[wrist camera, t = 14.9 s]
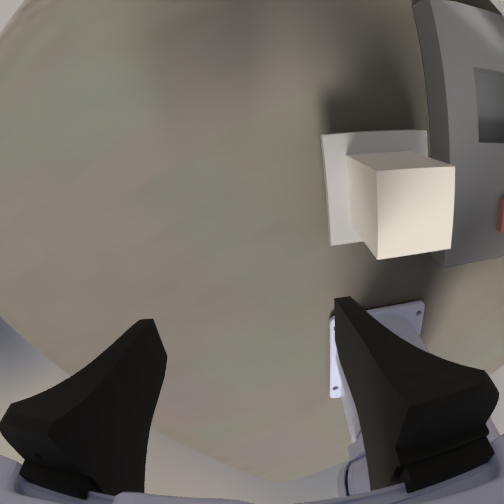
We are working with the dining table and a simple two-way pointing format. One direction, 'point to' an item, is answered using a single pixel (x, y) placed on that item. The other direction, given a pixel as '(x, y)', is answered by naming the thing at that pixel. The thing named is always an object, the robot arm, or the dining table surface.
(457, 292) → the dining table surface
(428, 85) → the grey flat block
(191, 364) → the dining table surface
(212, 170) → the dining table surface
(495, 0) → the grey bar orange end
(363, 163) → the plug
